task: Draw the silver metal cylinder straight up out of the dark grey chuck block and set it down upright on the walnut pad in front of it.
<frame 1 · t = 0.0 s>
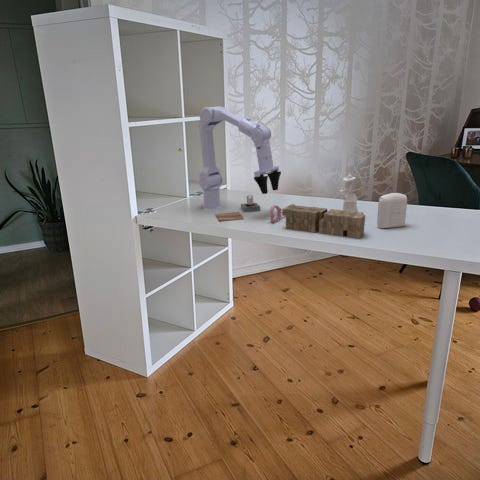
hand: (270, 191, 174), 11 cm above the table, tool pointing down, fingers open, 7 cm apart
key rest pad: (229, 218, 178), on the table
off-white upright rounded block: (390, 227, 158), on the table
silver metal cylinder: (250, 209, 188), resting on chuck block
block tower: (323, 231, 157), on the table
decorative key: (286, 218, 176), on the table
chuck block: (250, 210, 188), on the table
figurine: (349, 218, 171), on the table
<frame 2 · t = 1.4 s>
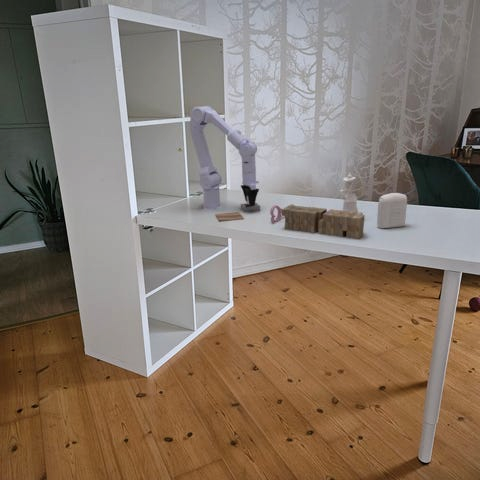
hand: (250, 203, 187), 3 cm above the table, tool pointing down, fingers open, 7 cm apart
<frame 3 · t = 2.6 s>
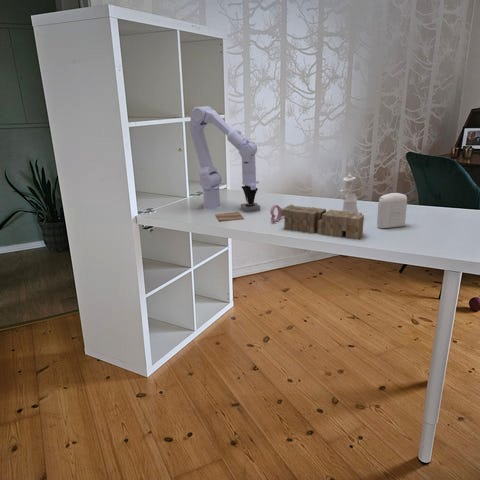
hand: (250, 203, 187), 3 cm above the table, tool pointing down, fingers closed on silver metal cylinder, 3 cm apart
silver metal cylinder: (250, 209, 188), resting on chuck block, touching gripper
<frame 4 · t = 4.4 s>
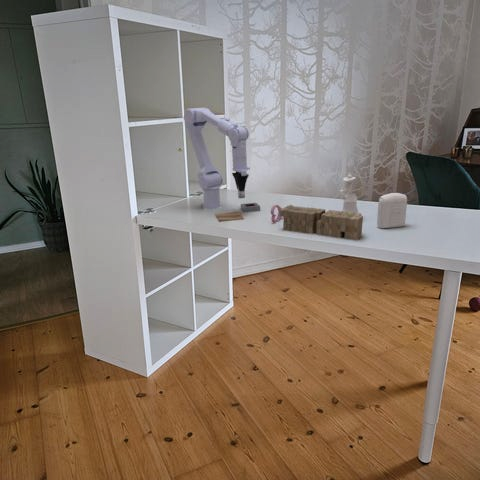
hand: (240, 190, 181), 10 cm above the table, tool pointing down, fingers closed on silver metal cylinder, 3 cm apart
silver metal cylinder: (241, 197, 182), point 7 cm above the table, touching gripper
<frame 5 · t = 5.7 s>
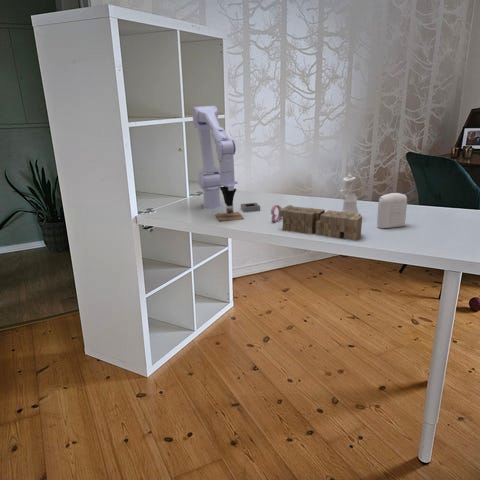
hand: (228, 204, 176), 6 cm above the table, tool pointing down, fingers closed on silver metal cylinder, 3 cm apart
silver metal cylinder: (230, 212, 177), point 2 cm above the table, touching gripper
when the fingers open (5 cm above the table, at t = 6.6 s): silver metal cylinder stays where it is, resting on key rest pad.
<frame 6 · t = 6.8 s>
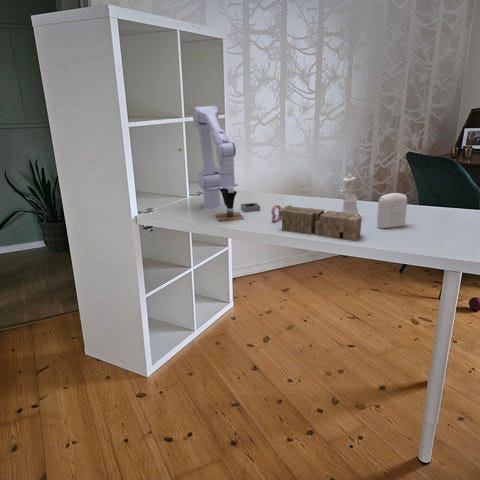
hand: (228, 206, 176), 5 cm above the table, tool pointing down, fingers open, 4 cm apart
silver metal cylinder: (230, 216, 178), point 1 cm above the table, touching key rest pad
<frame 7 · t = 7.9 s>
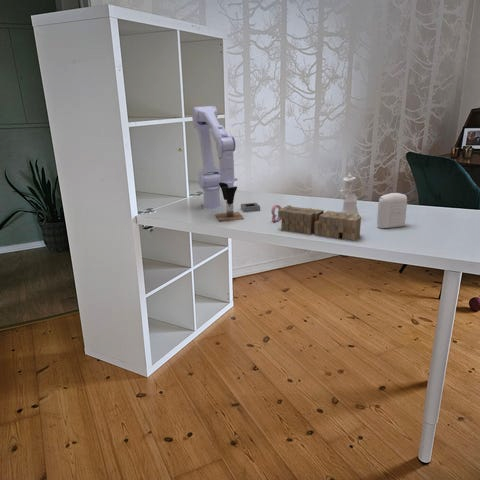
hand: (228, 201, 176), 7 cm above the table, tool pointing down, fingers open, 7 cm apart
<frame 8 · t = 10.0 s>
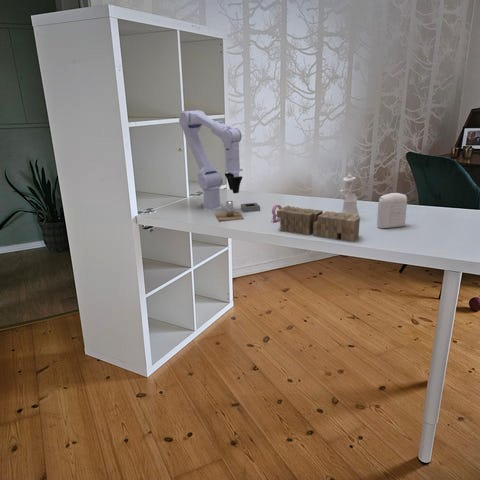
hand: (234, 191, 183), 9 cm above the table, tool pointing down, fingers open, 7 cm apart
at the end: silver metal cylinder 0.4 cm off-centre on the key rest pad, point 1.0 cm above the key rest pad's base; silver metal cylinder tilted 0°; the gripper is holding nothing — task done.
